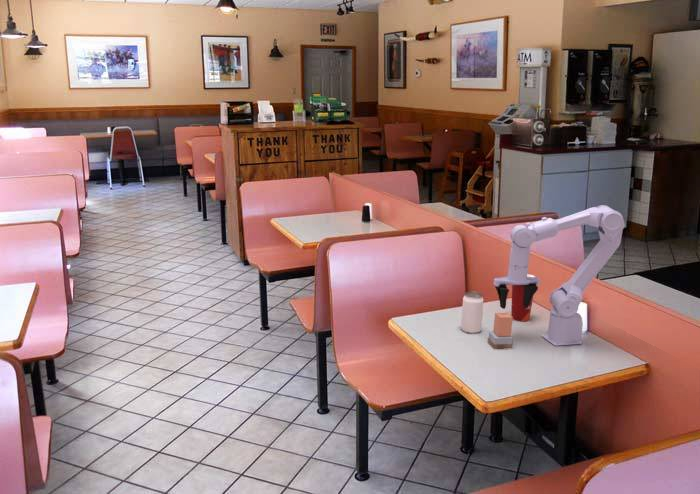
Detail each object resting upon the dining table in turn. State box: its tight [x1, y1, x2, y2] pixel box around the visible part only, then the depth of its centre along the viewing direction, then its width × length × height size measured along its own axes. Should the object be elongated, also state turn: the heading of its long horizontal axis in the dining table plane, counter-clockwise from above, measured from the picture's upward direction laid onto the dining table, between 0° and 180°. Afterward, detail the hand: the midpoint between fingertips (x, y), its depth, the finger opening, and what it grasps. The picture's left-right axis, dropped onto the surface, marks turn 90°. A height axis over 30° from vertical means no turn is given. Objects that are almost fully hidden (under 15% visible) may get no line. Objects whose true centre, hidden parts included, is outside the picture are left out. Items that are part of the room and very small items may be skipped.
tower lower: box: [487, 337, 513, 350], centre depth 193 cm, size 6×6×2 cm
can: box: [460, 291, 484, 334], centre depth 203 cm, size 6×6×12 cm
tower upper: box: [488, 330, 514, 345], centre depth 193 cm, size 6×6×2 cm
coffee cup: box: [510, 273, 536, 323], centre depth 214 cm, size 8×8×15 cm
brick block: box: [492, 312, 514, 336], centre depth 192 cm, size 4×4×6 cm
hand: (514, 307), depth 196 cm, fingers open, 7 cm apart
